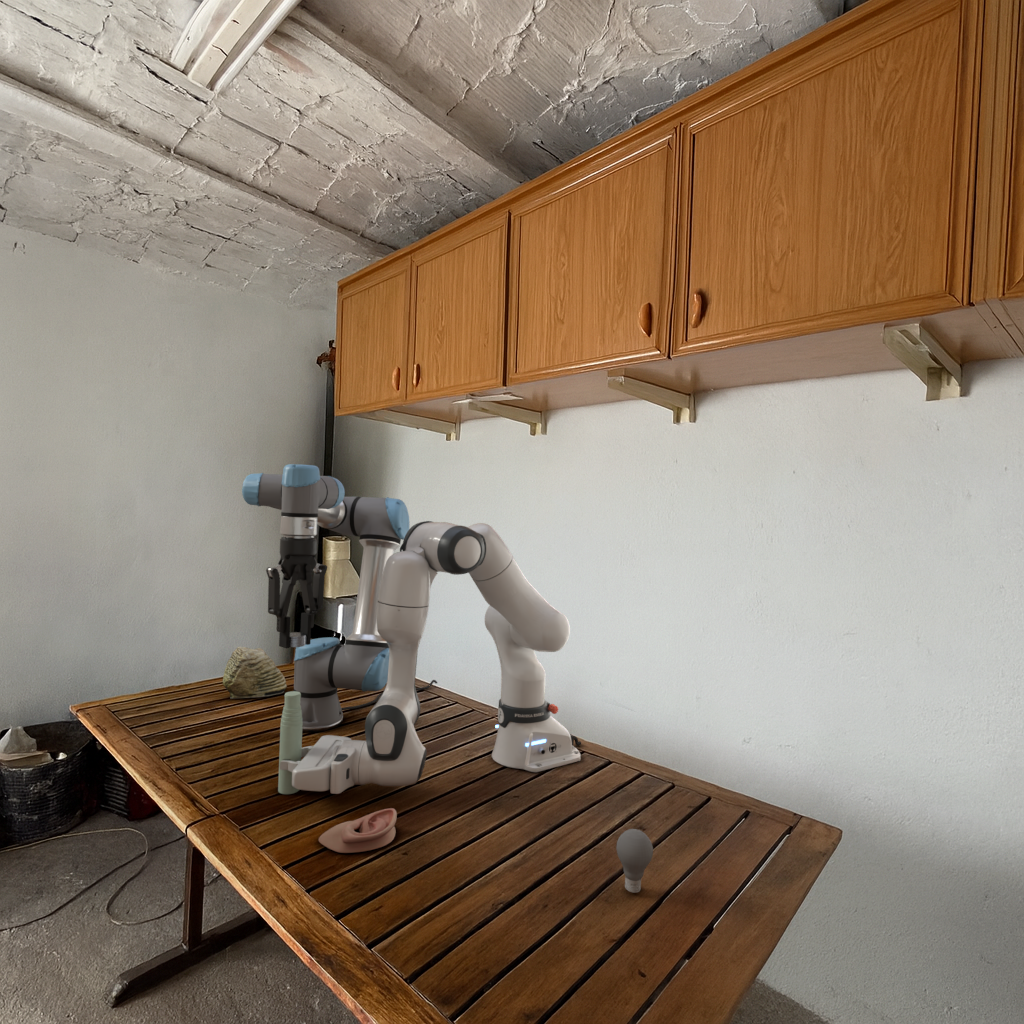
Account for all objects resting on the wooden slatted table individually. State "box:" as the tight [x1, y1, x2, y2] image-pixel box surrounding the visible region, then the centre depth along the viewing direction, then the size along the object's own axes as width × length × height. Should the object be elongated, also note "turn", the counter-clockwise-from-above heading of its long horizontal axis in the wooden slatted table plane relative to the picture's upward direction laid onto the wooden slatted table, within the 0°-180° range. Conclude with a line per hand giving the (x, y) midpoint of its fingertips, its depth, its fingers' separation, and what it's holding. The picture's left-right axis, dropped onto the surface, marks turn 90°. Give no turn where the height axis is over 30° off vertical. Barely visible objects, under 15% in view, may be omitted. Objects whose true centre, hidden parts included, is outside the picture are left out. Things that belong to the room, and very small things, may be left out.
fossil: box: [222, 646, 288, 699], centre depth 198 cm, size 9×18×15 cm, turn 132°
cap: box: [289, 631, 306, 648], centre depth 136 cm, size 4×5×2 cm
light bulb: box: [615, 828, 654, 894], centre depth 106 cm, size 6×6×10 cm
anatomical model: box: [318, 807, 398, 854], centre depth 118 cm, size 13×4×12 cm
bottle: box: [277, 690, 303, 795], centre depth 136 cm, size 4×4×21 cm
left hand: (294, 644), depth 136 cm, fingers closed on cap, 4 cm apart
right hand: (286, 758), depth 136 cm, fingers closed on bottle, 4 cm apart
